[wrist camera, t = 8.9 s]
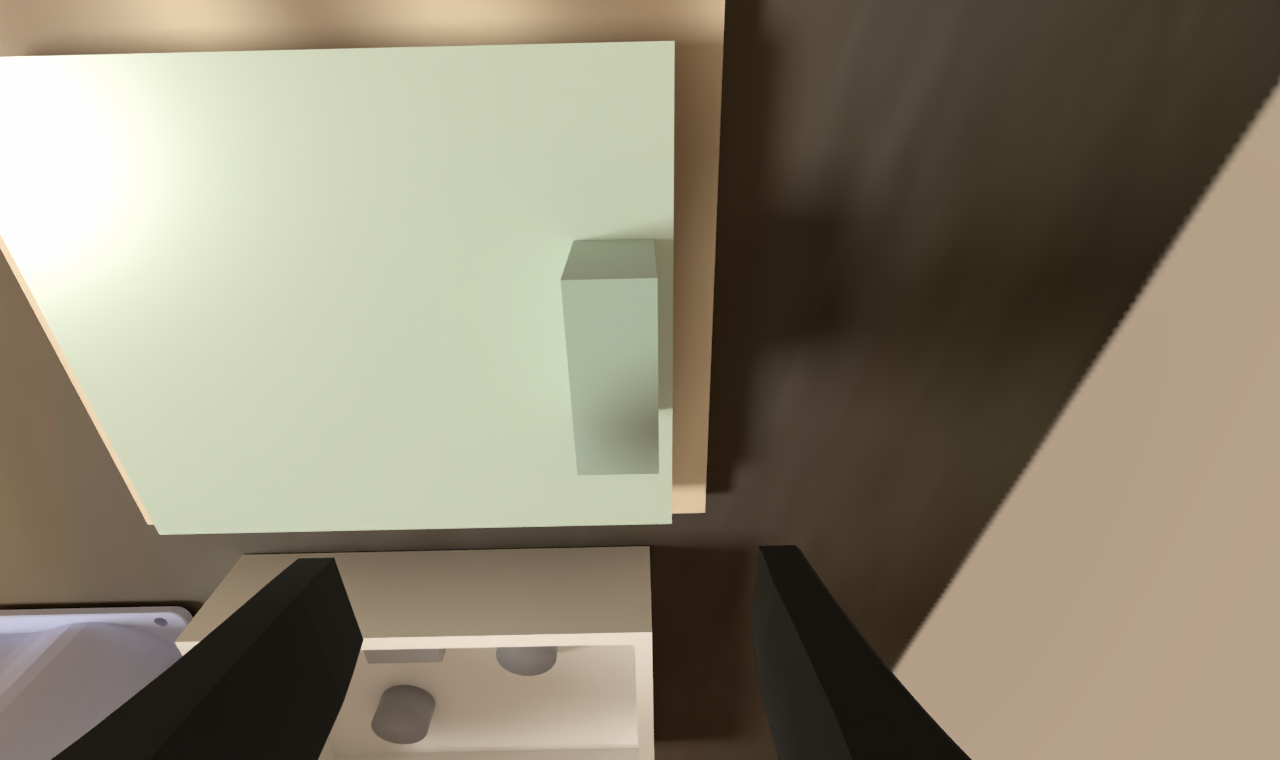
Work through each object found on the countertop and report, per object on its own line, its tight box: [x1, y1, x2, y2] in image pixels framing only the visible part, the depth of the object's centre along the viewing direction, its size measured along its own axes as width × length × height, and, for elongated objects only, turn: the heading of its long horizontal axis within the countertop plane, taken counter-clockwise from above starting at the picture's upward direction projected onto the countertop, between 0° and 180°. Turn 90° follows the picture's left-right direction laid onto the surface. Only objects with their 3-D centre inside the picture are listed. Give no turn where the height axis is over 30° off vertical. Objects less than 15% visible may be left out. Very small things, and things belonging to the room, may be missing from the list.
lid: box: [0, 41, 675, 535], centre depth 16 cm, size 17×14×5 cm
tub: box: [175, 546, 654, 760], centre depth 25 cm, size 16×13×4 cm
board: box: [0, 0, 725, 525], centre depth 18 cm, size 20×16×1 cm
